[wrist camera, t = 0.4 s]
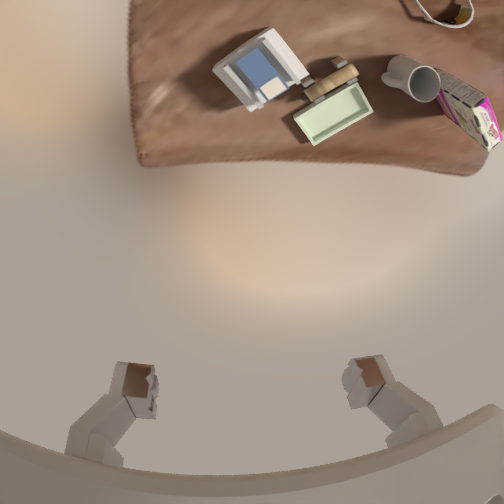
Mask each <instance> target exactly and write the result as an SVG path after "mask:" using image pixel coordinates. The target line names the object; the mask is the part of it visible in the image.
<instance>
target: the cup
mask: <svg viewBox="0 0 504 504" xmlns="http://www.w3.org/2000/svg"><path fill="white" fill-rule="evenodd" d="M381 80H382V81H383V82H384V83H385V84H386V85H388V86H391V87H395V88H400V89H401V90H403V91H404V92H405V93H407V94H408V95H410V96H411V97H413V98H414V99H415V100H417V101H419V102H422V103H427V102H430V101H432V100H434V99H435V98H436V97H437V95H438V94H439V92H440V88H441V81H440V77H439V75H438V73H437V72H436V71H435V70H434V69H433V68H432V67H430V66H428V65H426V64H424V63H421V62H419V61H417V60H415V59H413V58H411V57H408V56H405V55H398V56H395V57H393V58H392V59H391V60H390V61H389V63H388V66H387V72H386V73H383V74H382V75H381Z"/></svg>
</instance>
